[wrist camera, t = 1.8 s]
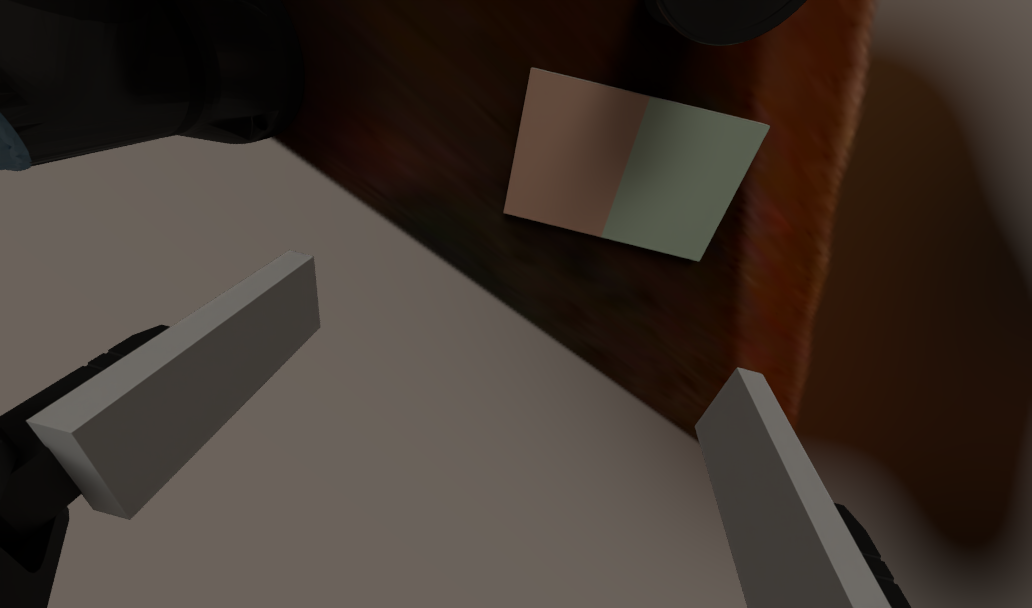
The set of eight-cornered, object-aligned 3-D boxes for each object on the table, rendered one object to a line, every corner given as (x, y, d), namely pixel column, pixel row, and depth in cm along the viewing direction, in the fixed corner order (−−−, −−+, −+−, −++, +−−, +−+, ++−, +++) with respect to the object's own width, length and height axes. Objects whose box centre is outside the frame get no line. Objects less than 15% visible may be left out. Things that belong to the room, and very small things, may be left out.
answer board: (505, 208, 38) (503, 212, 37) (532, 67, 31) (531, 68, 30) (696, 255, 38) (699, 261, 37) (764, 123, 31) (770, 125, 30)
